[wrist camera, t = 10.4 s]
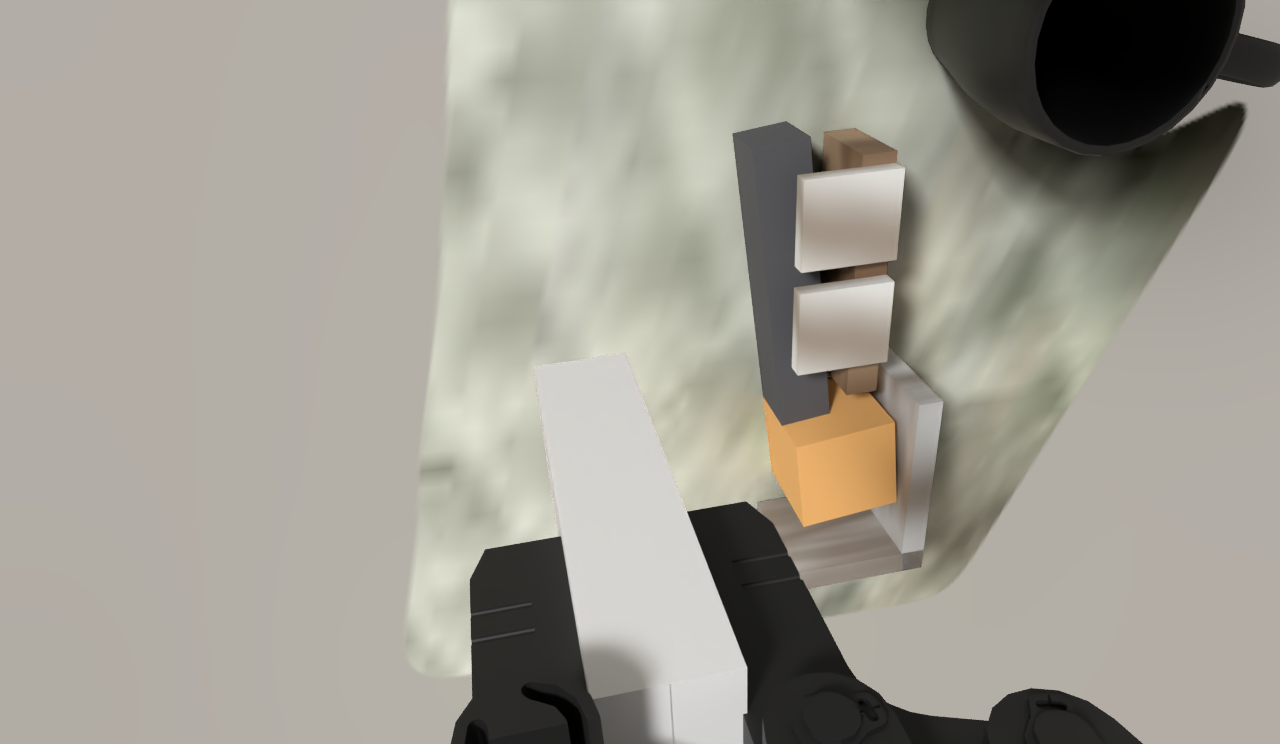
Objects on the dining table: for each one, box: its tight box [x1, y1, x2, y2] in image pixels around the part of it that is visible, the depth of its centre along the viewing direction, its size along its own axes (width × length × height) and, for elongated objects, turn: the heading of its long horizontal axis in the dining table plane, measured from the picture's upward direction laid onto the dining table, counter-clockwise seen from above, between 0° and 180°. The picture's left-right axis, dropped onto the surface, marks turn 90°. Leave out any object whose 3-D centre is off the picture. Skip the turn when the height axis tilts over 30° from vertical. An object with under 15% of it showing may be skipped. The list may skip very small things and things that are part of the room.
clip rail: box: [757, 128, 944, 589], centre depth 41 cm, size 22×7×6 cm, turn 4°
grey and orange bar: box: [733, 121, 897, 527], centre depth 40 cm, size 19×5×5 cm, turn 11°
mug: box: [926, 0, 1280, 156], centre depth 33 cm, size 8×12×10 cm
